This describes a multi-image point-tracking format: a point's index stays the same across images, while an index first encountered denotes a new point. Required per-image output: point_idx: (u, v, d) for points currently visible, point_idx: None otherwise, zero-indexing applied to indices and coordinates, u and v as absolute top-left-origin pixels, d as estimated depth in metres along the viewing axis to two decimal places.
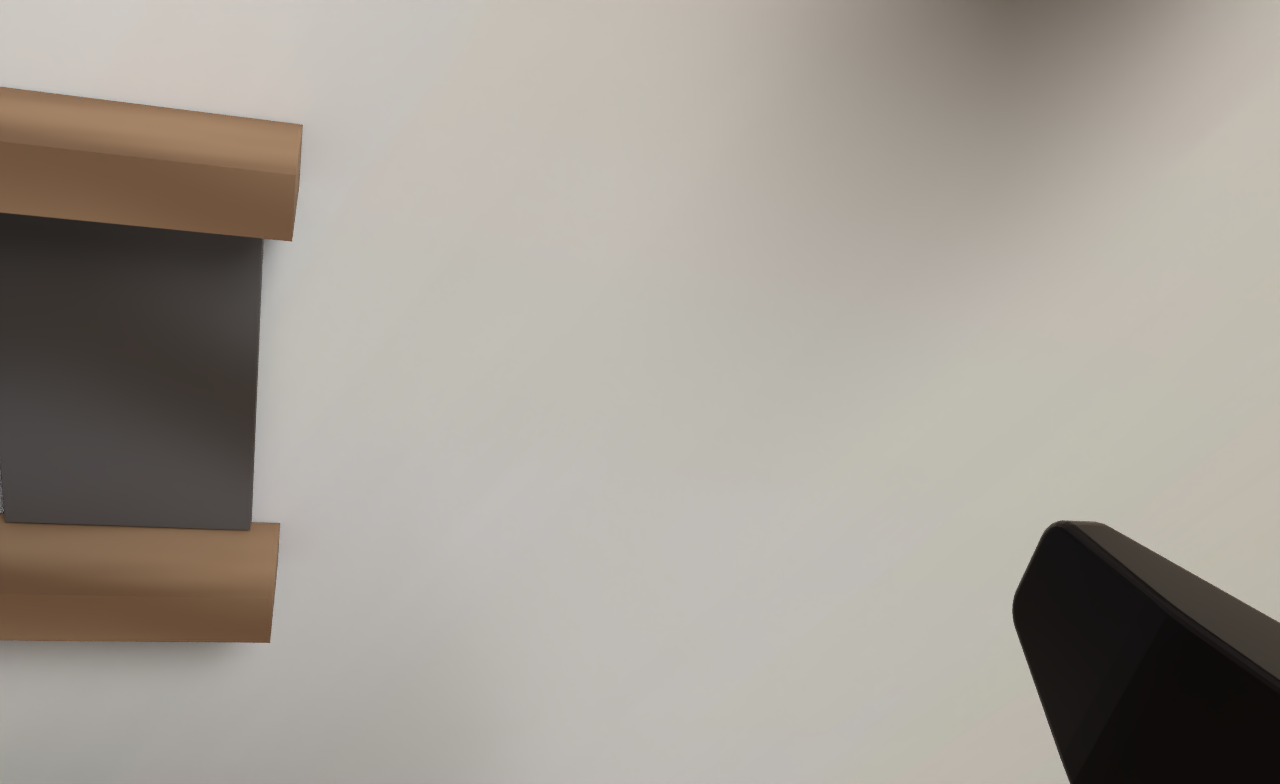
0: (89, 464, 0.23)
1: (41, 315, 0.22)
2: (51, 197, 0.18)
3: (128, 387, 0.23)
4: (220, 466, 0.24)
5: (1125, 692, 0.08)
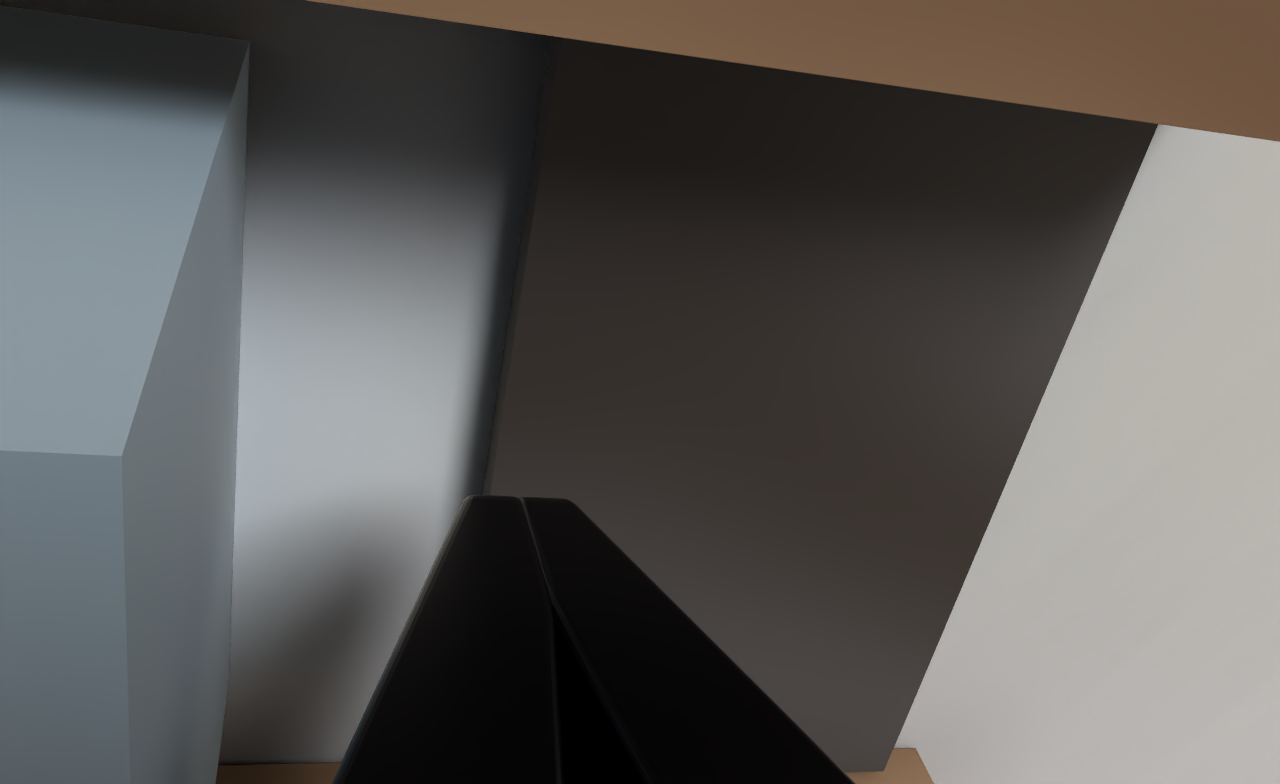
0: None
1: (626, 362, 0.09)
2: (957, 24, 0.06)
3: (755, 514, 0.10)
4: (872, 661, 0.12)
5: None
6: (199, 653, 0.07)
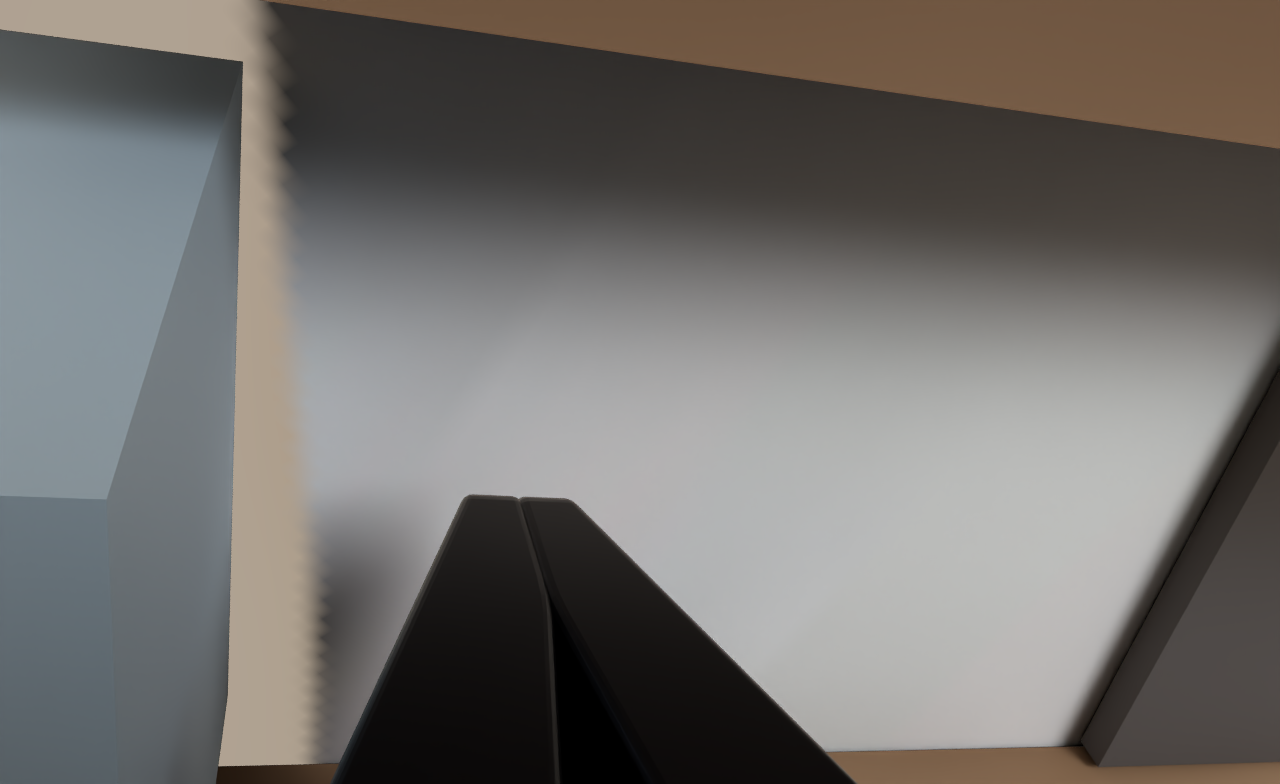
0: (1272, 670, 0.13)
1: None
2: None
3: None
4: None
5: None
6: (194, 674, 0.07)
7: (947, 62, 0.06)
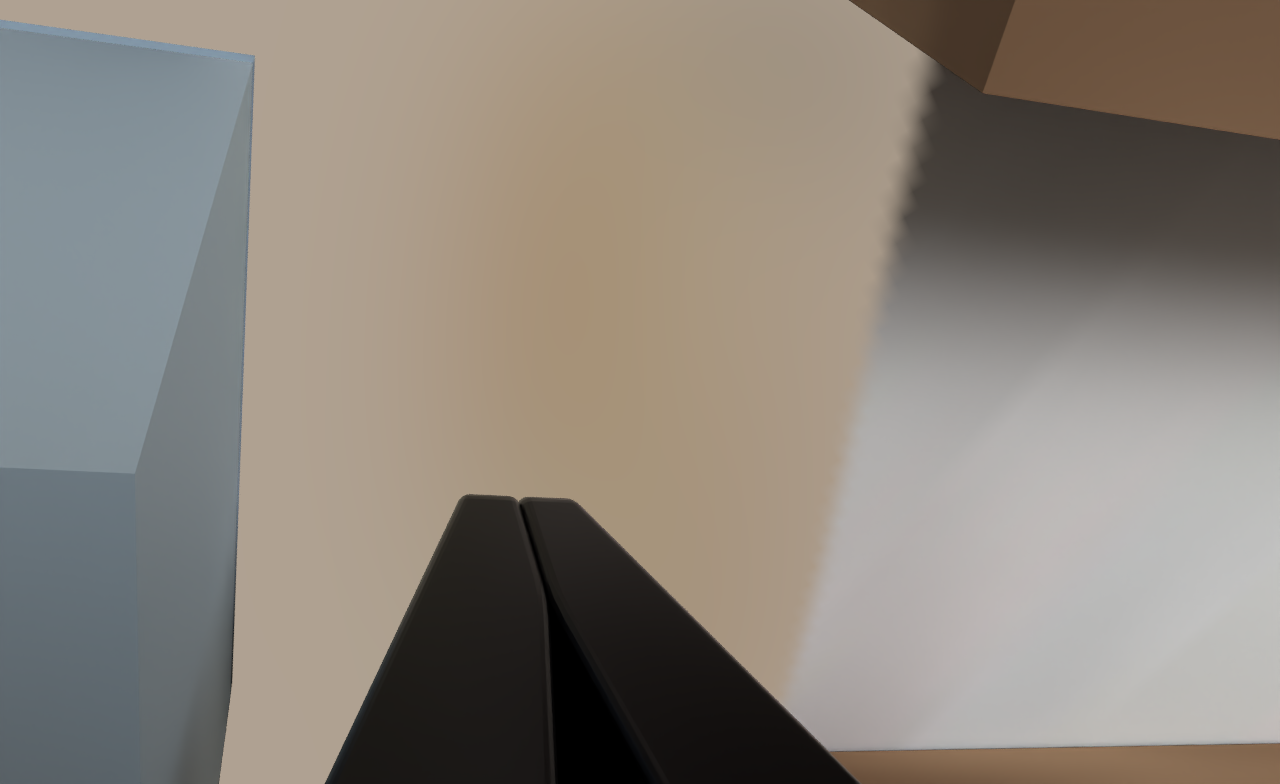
0: None
1: None
2: None
3: None
4: None
5: None
6: (204, 656, 0.07)
7: None
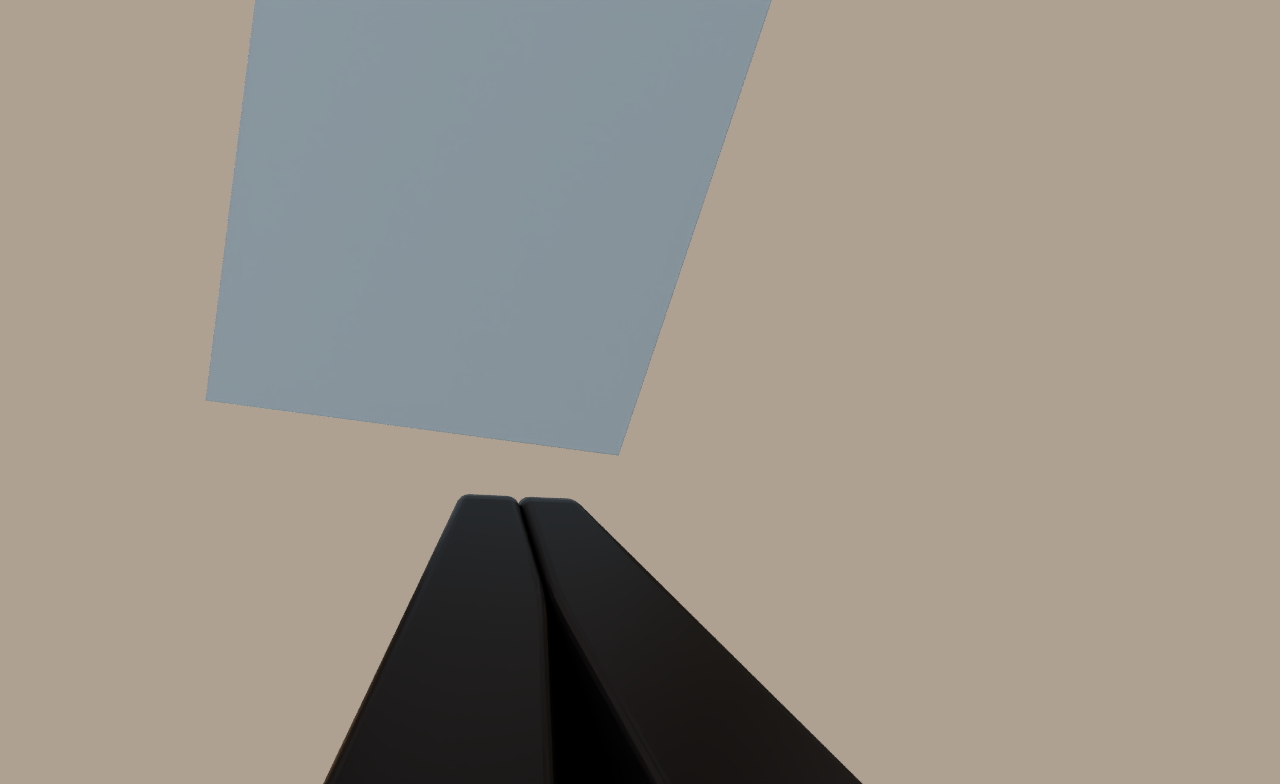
0: None
1: None
2: None
3: None
4: None
5: None
6: None
7: None
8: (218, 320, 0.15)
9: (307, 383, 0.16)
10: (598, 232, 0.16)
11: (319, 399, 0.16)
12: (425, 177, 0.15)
